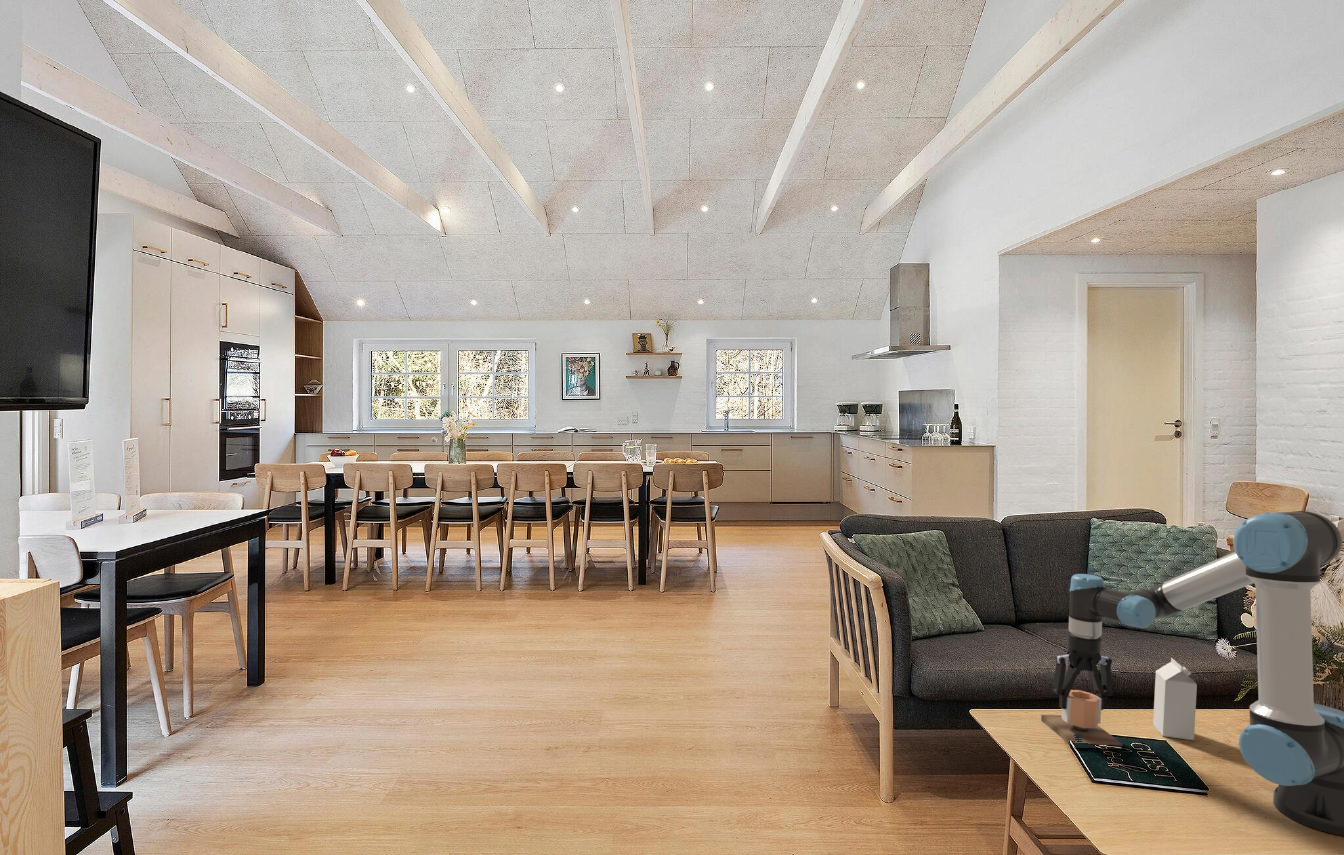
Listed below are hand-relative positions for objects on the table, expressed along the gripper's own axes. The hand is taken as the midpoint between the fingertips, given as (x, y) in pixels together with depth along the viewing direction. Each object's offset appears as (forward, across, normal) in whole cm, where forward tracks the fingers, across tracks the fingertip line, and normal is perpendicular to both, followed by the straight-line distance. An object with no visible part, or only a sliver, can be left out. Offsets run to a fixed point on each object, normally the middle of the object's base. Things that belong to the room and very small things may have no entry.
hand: (1080, 720), depth 186 cm
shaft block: (+4, 0, 0) cm, 4 cm away
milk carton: (+4, -26, -2) cm, 26 cm away
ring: (0, 0, 0) cm, 0 cm away
